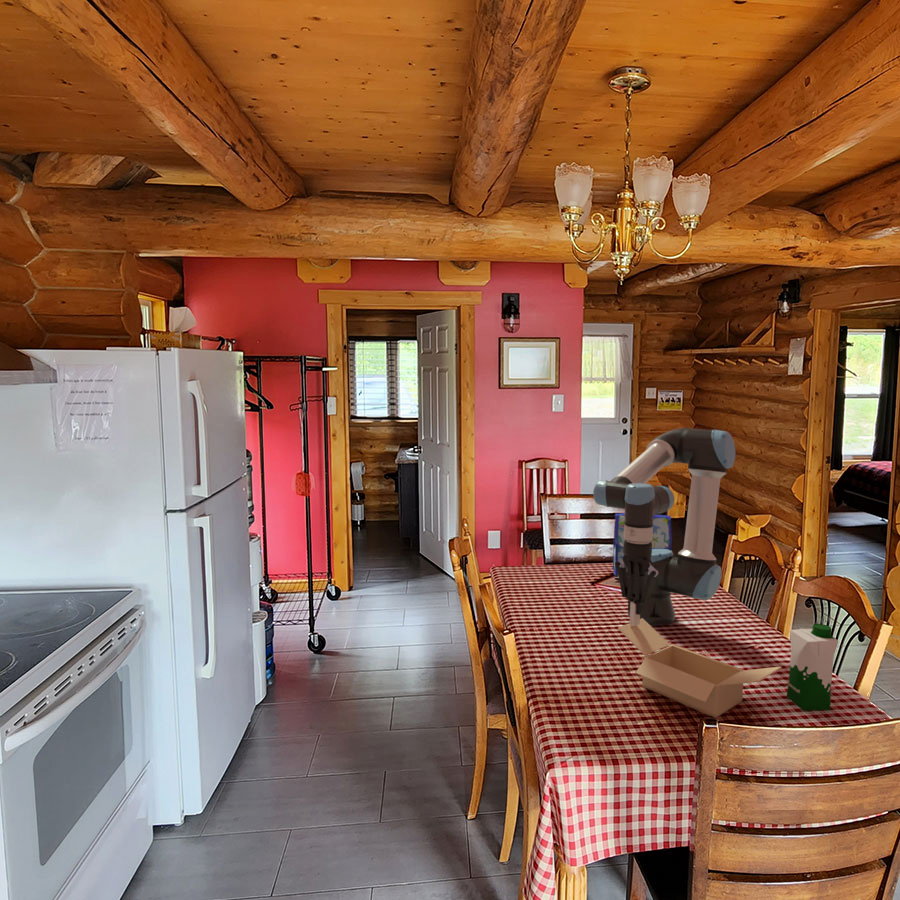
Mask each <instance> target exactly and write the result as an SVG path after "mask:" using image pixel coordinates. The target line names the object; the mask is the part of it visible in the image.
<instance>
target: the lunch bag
mask: <svg viewBox="0 0 900 900" xmlns="http://www.w3.org/2000/svg"><path fill="white" fill-rule="evenodd" d="M624 522H625V512H621V513H615V514H614V529H613V531H614V532H613V543H612V546H613V547H612V548H613V552H612V555H613V557H612V570H613V575H615V576H614V578H615V577H619V575H618V570H617V568H616V565H615V562H617V561H620V560H622V559H623V556H624V553H623V544H624V541H625V540H626V539H624ZM672 539H673V538H672V515H666V514H665V515H664V514H657V515H654V516H653V540H652V541H651V543H652V549H668V550H671V551H672V545H673V540H672ZM626 569H627V568H626Z"/></svg>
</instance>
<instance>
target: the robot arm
mask: <svg viewBox="0 0 900 900" xmlns="http://www.w3.org/2000/svg"><path fill="white" fill-rule="evenodd" d="M735 460H736V445H735V440H734V438H733V436H732V434H730V432H728V431H725V430H720V429H705V428H704V429H703V428H688V427H680V428H675V429H671V430H668V431H666V432H664V433H662V434H660V435H658V436H657V437H655V438H654V439H652V440H651V441H650V442H649V443H647V446H646V449H645V451H643V452H642V453H641V454H640V455H639V456H638V457H636V458H635V459H634V460H633V461H632V462H630V463H629V464H628V465H627V466H626V467H625V468H624V469H622V470H621V471H620V472H619V473H618V474H617V475H616V476H614V478H613V479H611V480H610V481H609V480H599V481H597V482H596V483H595V485H594V487H593V492H592V493H593V500H594V502H595V504H597V505H598V506H604V507H606V508H612V509H613V508H615V509H619V510H620V509H621V510H624V513H625V522H624V539H626V540H625V541H624V544H623V553H624V556H623V559H622V560H620V561H617V562H615V565H616V568H617V570H618V575H619V578H618V581H619V587H620V593H621V597H622V598H625V599H627V615H628V618H629V623H630V625H631V626H636V625H639V624H640V619H641V618H643V619H644V620H645V621H646V622H647V623H648V624H649V625H650V626H667V625H671V624H673V623H674V622H675V620H676V612H675V609H674V606H673V602H672V598H671V593H672V594H676V595H681V596H686V597H689V598H693V599H694V600H697V599H698V600H703V601H707V600H708V601H709V600H711V599H712V598H713V597H714V596H715V594H716V593H717V591H718V588H719V587H720V584H721V579H722V574H723V573H722V568H721V566H720V565H718V564H717V558H716V557H715V555H714V554H713V546H714V545H713V544H714V537H715V535H714V534H715V528H716V519H717V518H716V517H717V512H718V511H717V510H718V504H719V503H718V502H719V493H720V487H721V486H720V485H721V484H720V483H721V479H722V478H723V477H724V476H726V475H727V472H728V471H727V469H730V468H733V466H734V465H735ZM674 463H675V464H678V463H679V464H686V465H687V470H688V471H689V473H690V474H691V481H690V482H691V483H690V488H689V489H690V490H689V498H688V506H687V516H686V524H685V531H684V532H685V533H684V542H683V548H682V549H681V550H679V551H678V553H677V557H676V556H674V552H673V551H672V549H671V550H668V549H652V543H651V541H652V540H653V516H654V515H662V514H664V513H666V512H668V511H670V509H672V508H673V506H674V505H675V504H674V503H675V496H674V493H673V491H672V489H670V488H669V487H668V486H664V485H656V486H653V485H652V484H649V483H648V482H649V481H650V480H651V479H652V478H653V477H654V476H655V475H656V474H657V473H658V472H659V471H661V470H662V468H666V467H668V466H670V465H672V464H674ZM626 568H627V569H626Z"/></svg>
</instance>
